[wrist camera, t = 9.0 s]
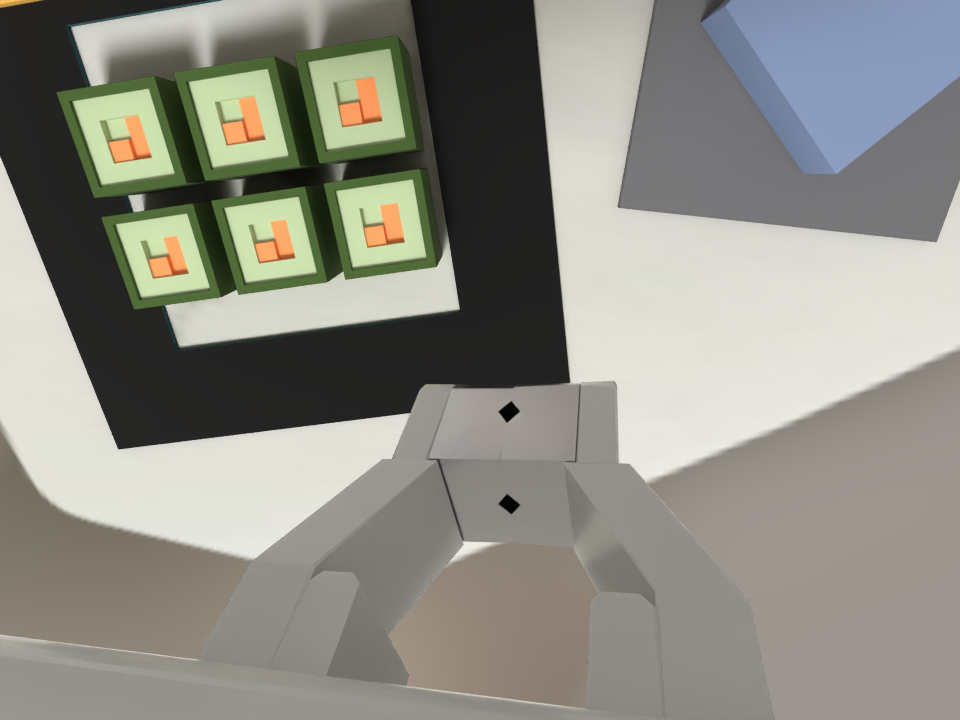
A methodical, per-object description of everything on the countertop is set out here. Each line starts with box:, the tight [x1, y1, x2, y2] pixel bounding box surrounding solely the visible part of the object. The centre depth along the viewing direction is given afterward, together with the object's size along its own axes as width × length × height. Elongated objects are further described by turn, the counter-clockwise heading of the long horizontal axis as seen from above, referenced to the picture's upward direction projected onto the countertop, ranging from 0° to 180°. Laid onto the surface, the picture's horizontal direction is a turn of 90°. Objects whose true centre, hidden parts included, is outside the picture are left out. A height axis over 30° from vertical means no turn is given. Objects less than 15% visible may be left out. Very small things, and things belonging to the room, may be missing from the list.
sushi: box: [0, 0, 570, 449], centre depth 25 cm, size 25×25×4 cm
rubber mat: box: [618, 0, 960, 242], centre depth 23 cm, size 16×15×1 cm
